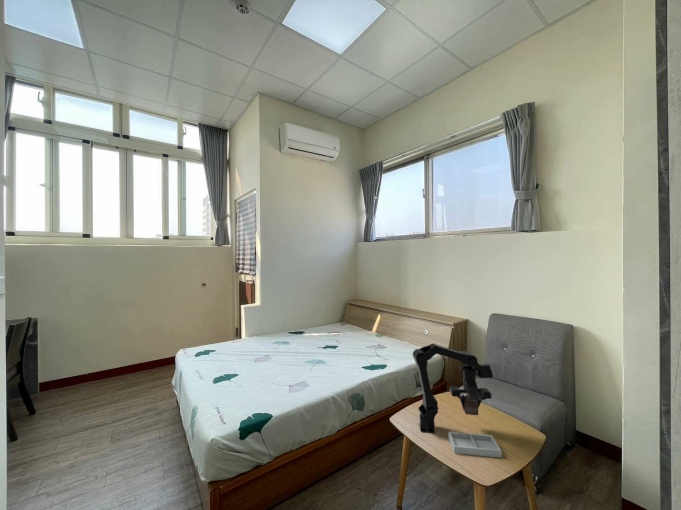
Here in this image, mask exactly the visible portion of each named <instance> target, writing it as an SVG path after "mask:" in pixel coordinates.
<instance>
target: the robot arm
mask: <svg viewBox="0 0 681 510" xmlns="http://www.w3.org/2000/svg"><path fill="white" fill-rule="evenodd" d="M435 355H440V356H443V357H446V358H451V359H453V360H456V361H459V362H461V363H462V364H461V365H459V369H460V370H461V371H463V377H462V381H463V387H462V388H463V389H459V387H458V386H456V385H454V386H452V385H450V386H449V388H448V389H449V391H448V392H449V393H450V395H451V396H452V397H457V399H459V401H460V404H461V407H462V409H464V397H463V394H465V395H468V396H469V399H470V400H478V409H479V408H480V406H481V404H482V402H483V401H486V399H487V400H489V399H490V400H492V393H491V392H490V390H489V389H488V388H487V387H486V388H485V387H479V388H478V383H477V381H476V380H477V378H478V379H480V380H482V379H483V380H484V379H486V380H487V379H489V380H491V379H492V378H493V377H494V374H493V373H494V372H493V371H492V369H491V365H489V364H488V363H484V364H480V363H479V362H478V358H477V357H476V356H475V355H474V354H472V353H471V352H470V351H467V350H466V351H465V350H464V351H463V350H460V351H459V350H455V349H452V348H448V347H444V346H441V345H438V344H436V343H431V344H428V345H425V346H422V347H420V348H416V349H414V350H413V351H412V357H413V360H414V362H415V364H416V367H417V370H418V374H419V379H420V384H421V389H422V394H423V395H422V403H421V405H420V406H419V407H418V411H419V423H418V425H419V429H420V432H421V433H432V434H434V433H435V418H436V415H438V413H439V410H440V408H439V405H438V400H437V398H436V397H435V395H433V394H432V389H431V384H430V379H429V373H428V361H429V360H432V358H433V357H435Z"/></svg>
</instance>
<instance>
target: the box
mask: <svg viewBox="0 0 681 510" xmlns="http://www.w3.org/2000/svg"><path fill="white" fill-rule="evenodd" d="M463 397H464V409H463V408H462V409H463V412H464V414H465V415H467V416H468V415H469V416H479V408H478V400H470V399H469V396H468V394H463Z"/></svg>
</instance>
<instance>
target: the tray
mask: <svg viewBox="0 0 681 510" xmlns="http://www.w3.org/2000/svg"><path fill="white" fill-rule="evenodd" d="M447 433H448V434H447V436H448V438H447V439H448V440H449V444H450V446H451V448H452V451H453V454H458V455H459V454H460V455H469V456H470V455H471V456H482V457H492V458H493V457H494V458H502V456H503V453H502V452H503V451H502V449H501V448H500V446H499V445H498V443H497V441H496V439H495V438H494V437H493V435H492V434H482V433H480V434H478V433H471V432H470V433H469V432H457V431H447Z"/></svg>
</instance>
